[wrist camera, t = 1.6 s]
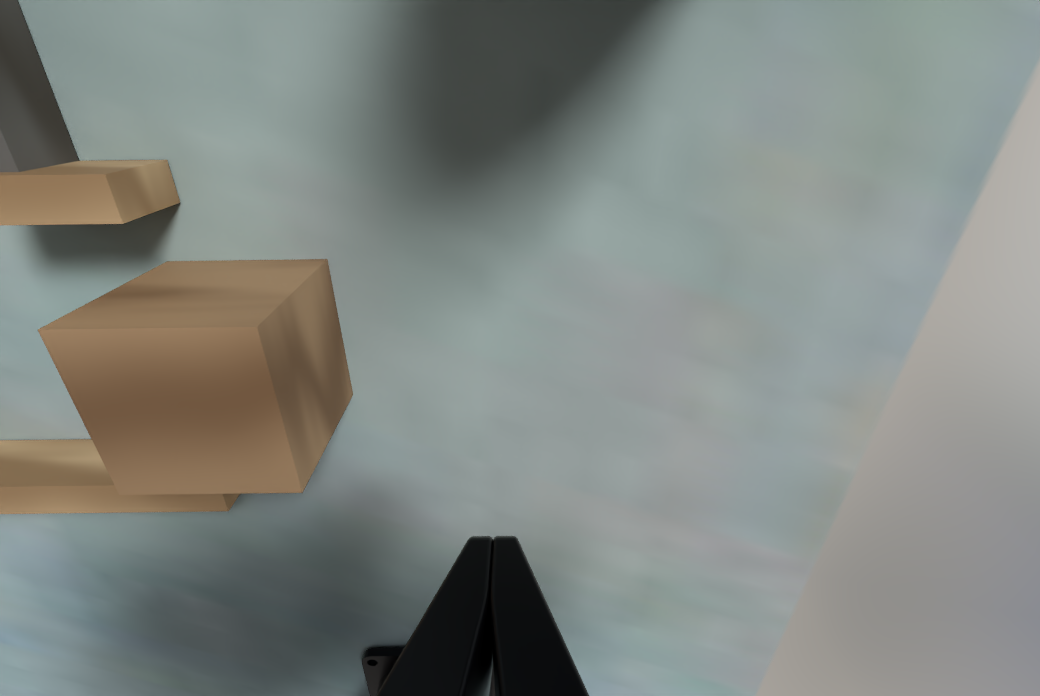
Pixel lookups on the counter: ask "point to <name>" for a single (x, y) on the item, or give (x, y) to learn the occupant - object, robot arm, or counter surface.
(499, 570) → the robot arm
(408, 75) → the counter surface
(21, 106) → the channel
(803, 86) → the counter surface
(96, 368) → the walnut block
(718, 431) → the counter surface
